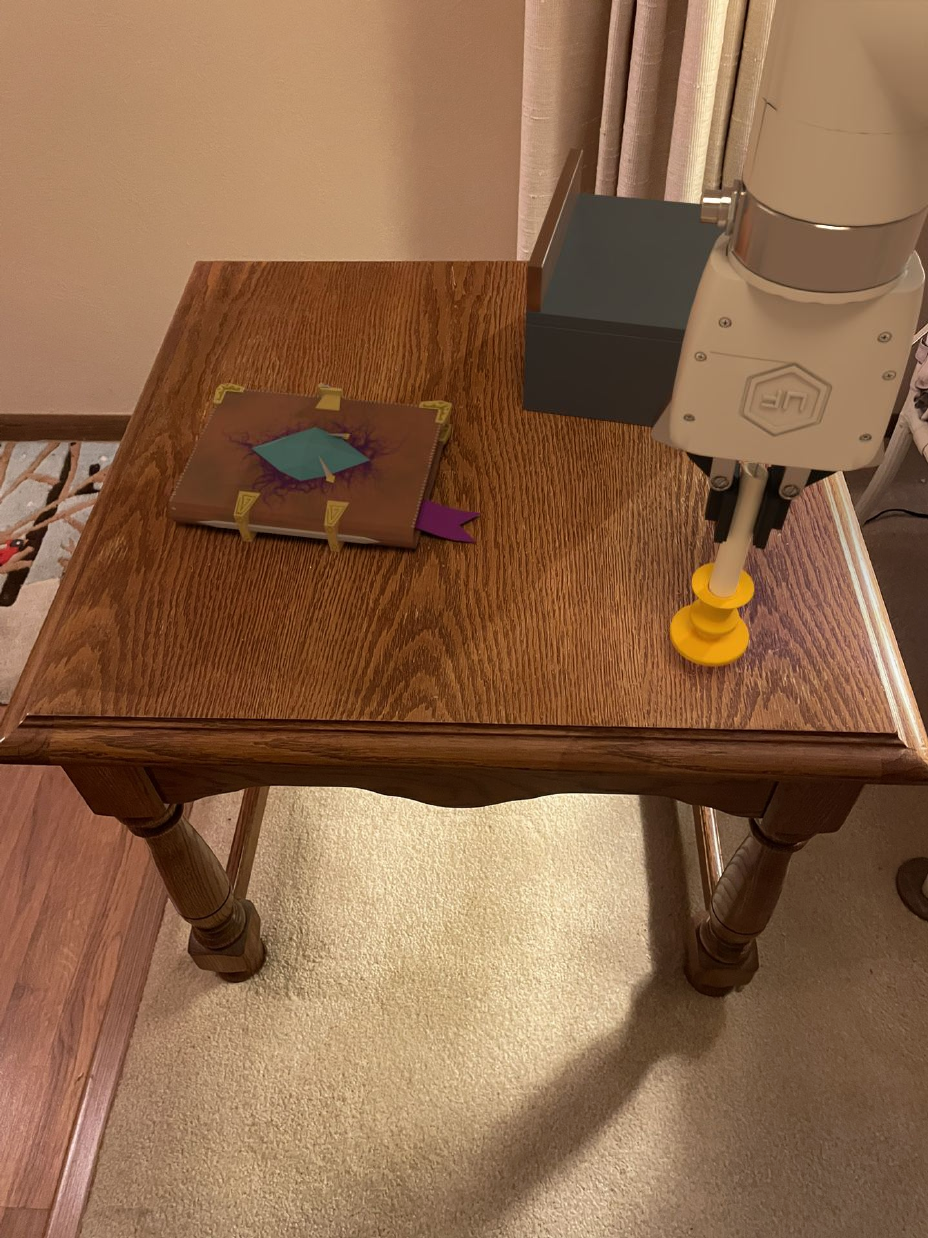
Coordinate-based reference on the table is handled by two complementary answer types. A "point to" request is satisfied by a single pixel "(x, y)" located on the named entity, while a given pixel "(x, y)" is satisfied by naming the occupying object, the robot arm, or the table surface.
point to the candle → (723, 586)
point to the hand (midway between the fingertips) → (740, 527)
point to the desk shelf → (610, 301)
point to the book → (319, 468)
